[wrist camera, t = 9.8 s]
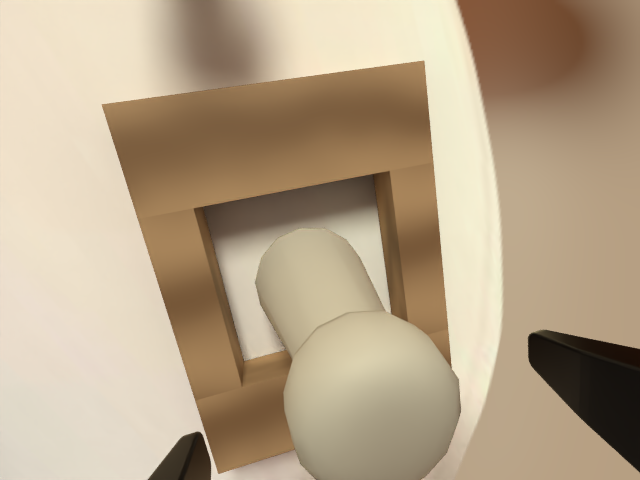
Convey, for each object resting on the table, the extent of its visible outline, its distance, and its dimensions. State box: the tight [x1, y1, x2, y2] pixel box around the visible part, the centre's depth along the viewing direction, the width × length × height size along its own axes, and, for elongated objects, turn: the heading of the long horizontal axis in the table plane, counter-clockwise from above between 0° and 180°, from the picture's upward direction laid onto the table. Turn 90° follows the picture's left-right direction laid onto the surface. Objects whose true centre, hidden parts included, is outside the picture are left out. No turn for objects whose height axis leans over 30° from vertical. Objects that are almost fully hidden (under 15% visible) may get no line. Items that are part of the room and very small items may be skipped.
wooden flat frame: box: [102, 61, 452, 474], centre depth 18 cm, size 20×15×2 cm
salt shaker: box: [255, 228, 461, 480], centre depth 13 cm, size 6×6×13 cm
